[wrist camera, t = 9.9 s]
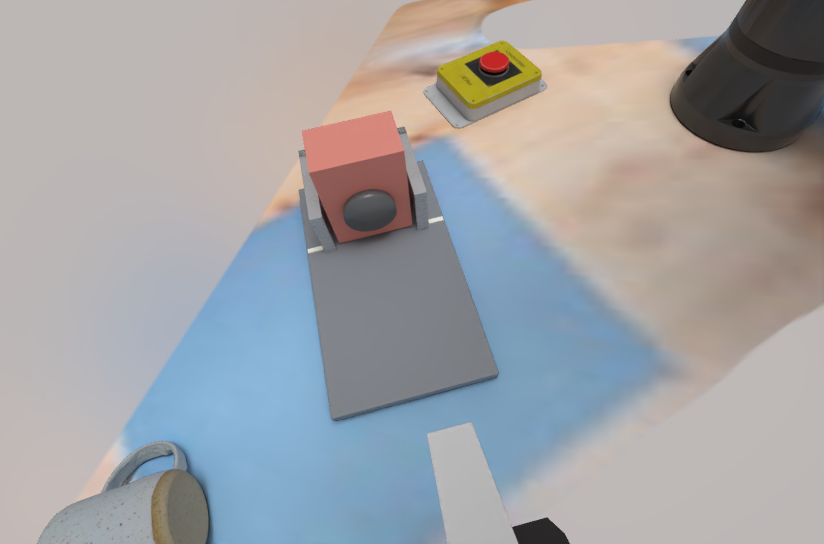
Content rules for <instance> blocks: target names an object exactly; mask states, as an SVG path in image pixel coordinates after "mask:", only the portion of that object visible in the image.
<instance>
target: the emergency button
mask: <svg viewBox="0 0 824 544" xmlns="http://www.w3.org/2000/svg"><path fill="white" fill-rule="evenodd" d="M546 88H547V84H546V83H545V82H544V81H543V80H542V79H541V70H540V69H539V68H538V67H537V66H535V65H534V64H533V63H532V62H531V61H529V60H528V59H527V58H526V57H525V56H524V55H522V54H521V53H520V52H519V51H518V50H516V49H515V48H514V47H513V46H512V45H511V44H509V43H508V42H506V41H499V42H497V43H494V44H492V45H489V46H487V47H485V48H482V49H480V50H477V51H475V52H473V53H470V54H468V55H465V56H463V57H461V58H458V59H456V60H453V61H451V62H449V63H446V64H444V65H442V66H440V67H439V68H438V72H437V83H436V84H433V85H431V86H429V87H427V88H425V89H424V95H425V96H426V97H427V98H428V99H429V101H430V102H431V103H432V104H433V105H434V106H435V107H436V108H437V110H438V111H439V112H440V113H441V114H442V115H443V116H444V118H445V119H446V120H447V121H448V122H449V123H450V124H451V125H452V127H454V128H458V129H460V128H464V127H466V126H468V125H470V124H472V123H475V122H477V121H479V120H481V119H483V118H485V117H488V116H490V115H492V114H494V113H496V112H499V111H501V110H503V109H505V108H507V107H509V106H512V105H514V104H516V103H518V102H520V101H522V100H525V99H527V98H529V97H531V96H533V95H536V94H538V93H540V92H542V91H544V90H545V89H546Z"/></svg>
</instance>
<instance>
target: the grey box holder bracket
mask: <svg viewBox="0 0 824 544" xmlns="http://www.w3.org/2000/svg"><path fill="white" fill-rule="evenodd" d="M397 130H398V133H399V136H400V139H401V142H402V145H403V148H404V153H405V162H406V171H407V180H408V189H409V198H410V207H411V211H412V214H413V217H414V220H415V224H416V227H417V230H418V231H419V230H423V229H427V228H429V227H428V205H427V191H426V188H425V185H424V182H423V179H422V176H421V173H420V171H419V168H418V165H417V162H416V159H415V156H414V153H413V150H412V147H411V144H410V142H409V139H408V136H407V133H406V130H405V127H401V128H397ZM299 157H300V164H301V171H302V177H303V184H304V190H305V197H306V204H307V210H308V217H309V221H310V223H311V225H312V227H313V229H314V231H315V233H316V235H317V237H318V239H319V241H320V243H321V245H322V247H323V248H324V250H325V252H326V253H330V252H334V251H337V247H336V242H335V236H334V231H333V228H332V225H331V223H330V221H329V219H328V216H327V214H326V212H325V209H324V207H323V205H322V202H321V200H320V198H319V195H318V193H317V191H316V189H315V186H314V184H313V182H312V179H311V177H310V175H309V172H308V165H307V159H306V153H305V150H301V151H299Z"/></svg>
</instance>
